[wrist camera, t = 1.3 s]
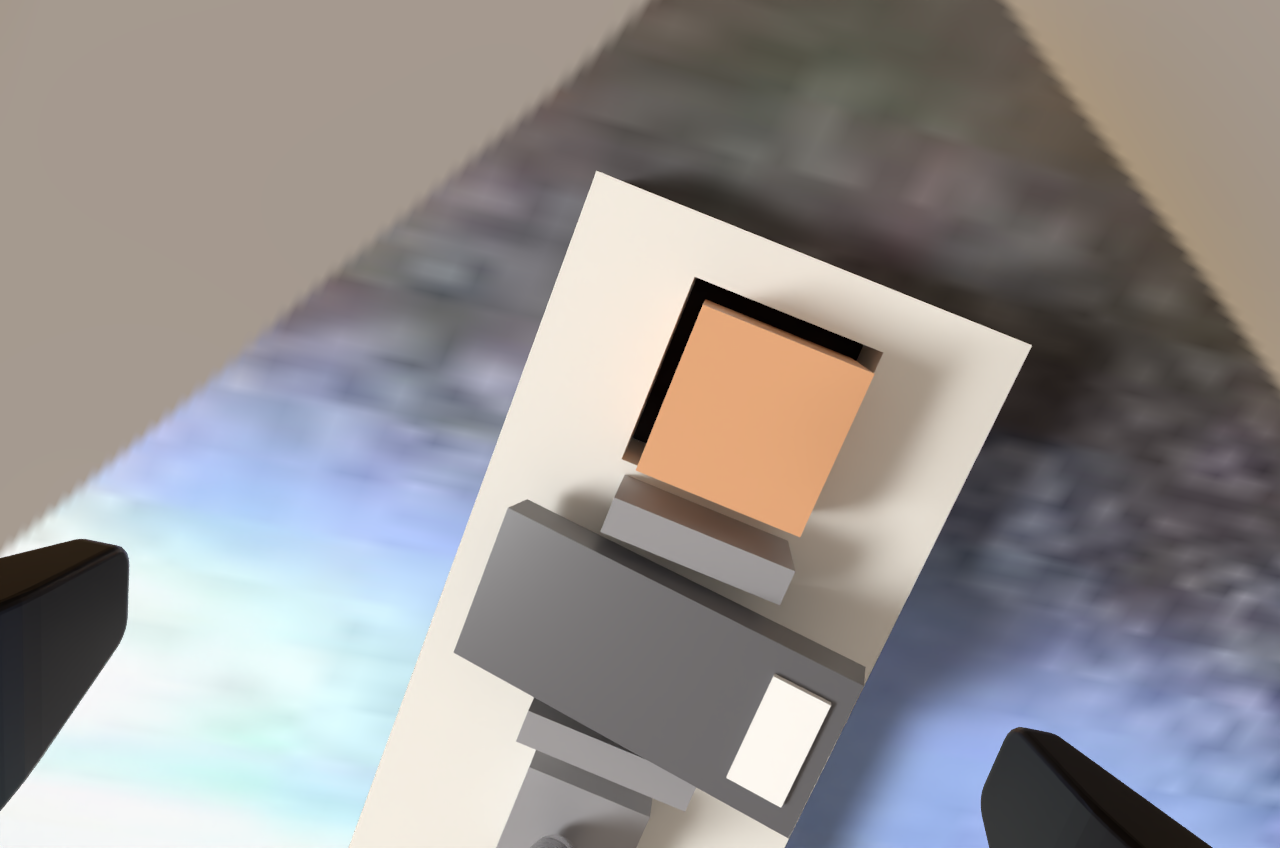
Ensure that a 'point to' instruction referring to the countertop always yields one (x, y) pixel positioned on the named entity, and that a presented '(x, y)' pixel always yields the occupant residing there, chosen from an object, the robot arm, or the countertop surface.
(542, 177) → the countertop surface
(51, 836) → the countertop surface
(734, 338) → the push button
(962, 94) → the countertop surface
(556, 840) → the toggle lever
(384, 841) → the switch panel
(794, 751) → the rocker switch
